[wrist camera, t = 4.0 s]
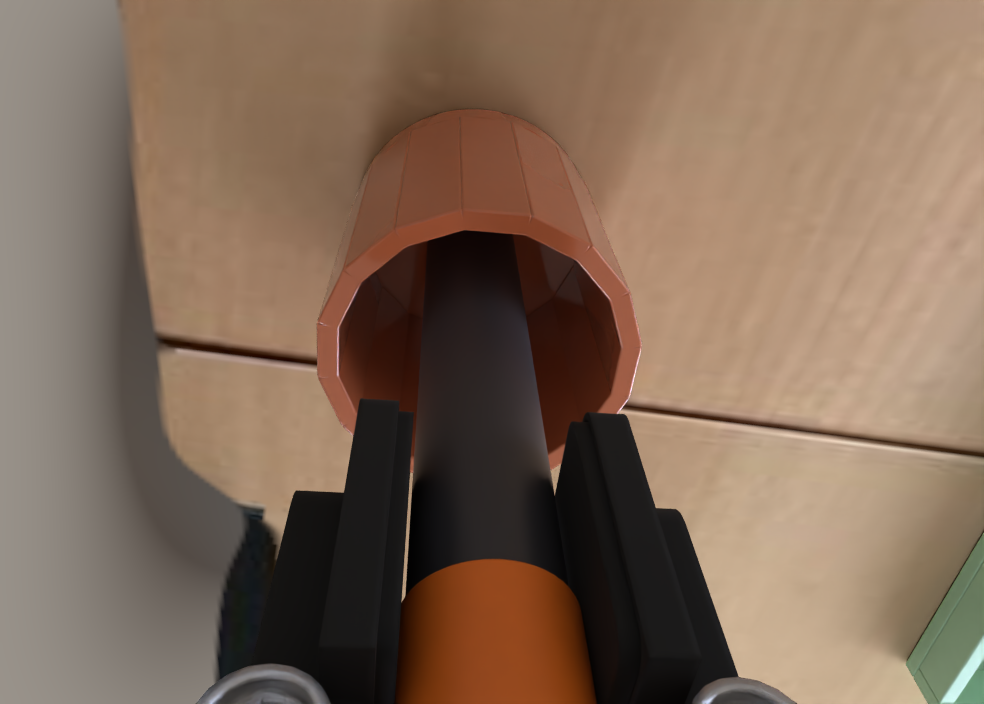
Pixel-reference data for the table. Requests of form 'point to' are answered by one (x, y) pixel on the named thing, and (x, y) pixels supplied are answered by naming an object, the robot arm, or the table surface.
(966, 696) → the tray
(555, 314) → the pen cup
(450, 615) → the marker
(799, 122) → the table surface
